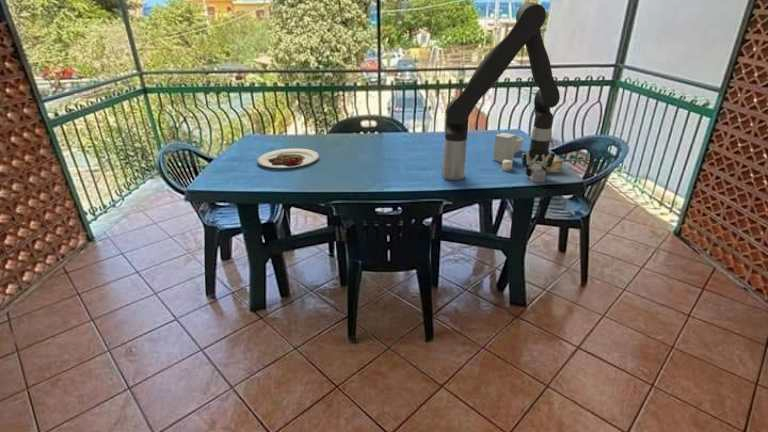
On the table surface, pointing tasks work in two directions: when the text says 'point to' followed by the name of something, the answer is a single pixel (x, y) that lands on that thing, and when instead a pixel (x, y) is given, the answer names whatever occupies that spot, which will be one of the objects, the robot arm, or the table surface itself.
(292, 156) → the plated food
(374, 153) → the table surface
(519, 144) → the ramekin
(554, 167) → the stand
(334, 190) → the table surface
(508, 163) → the beige cube
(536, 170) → the housing
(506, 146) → the supplement box
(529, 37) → the robot arm
